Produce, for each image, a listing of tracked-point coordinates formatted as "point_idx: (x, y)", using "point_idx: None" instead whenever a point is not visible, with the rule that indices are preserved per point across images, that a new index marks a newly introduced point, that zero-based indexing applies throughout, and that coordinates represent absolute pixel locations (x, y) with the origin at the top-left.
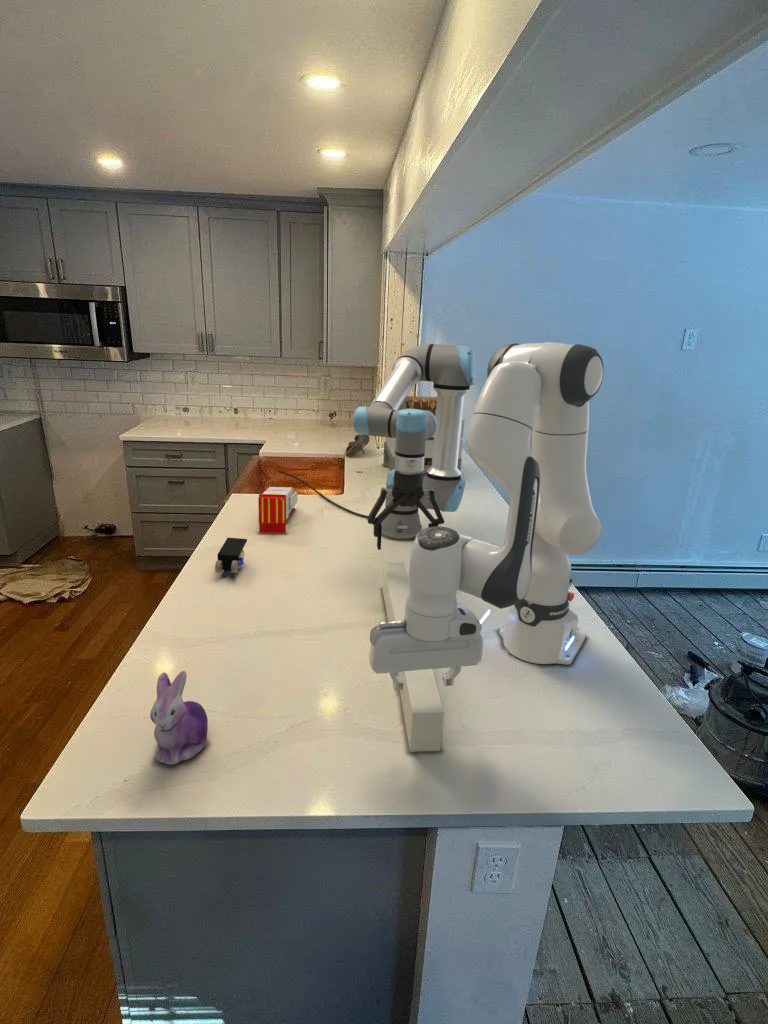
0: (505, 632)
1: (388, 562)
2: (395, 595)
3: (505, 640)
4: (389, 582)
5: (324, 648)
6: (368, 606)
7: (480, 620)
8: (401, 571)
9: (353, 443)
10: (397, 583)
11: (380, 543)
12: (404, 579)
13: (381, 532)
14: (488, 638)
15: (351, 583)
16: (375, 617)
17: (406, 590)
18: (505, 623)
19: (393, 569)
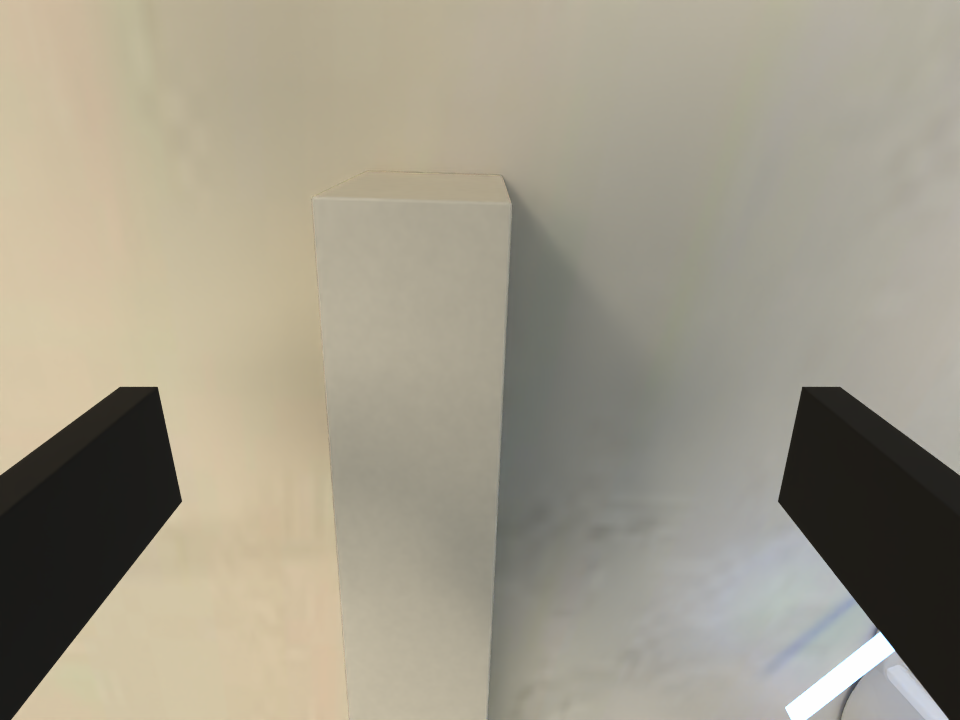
0: (891, 710)
1: (356, 205)
2: (379, 700)
3: (863, 716)
4: (349, 556)
5: (113, 683)
6: (276, 383)
7: (813, 707)
8: (460, 395)
9: None
10: (406, 572)
11: (130, 555)
12: (465, 521)
13: (22, 700)
14: (807, 653)
15: (134, 63)
16: (316, 488)
17: (457, 653)
18: (925, 713)
19: (394, 356)
